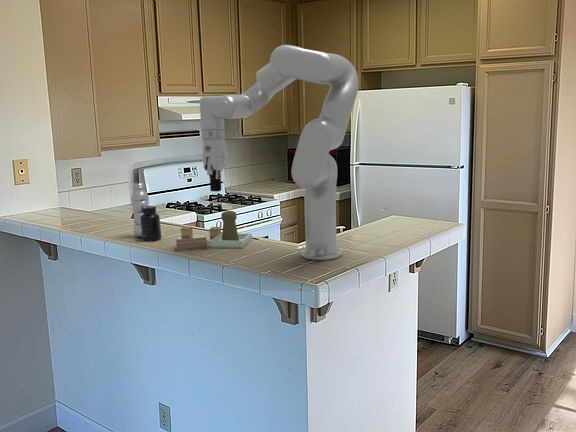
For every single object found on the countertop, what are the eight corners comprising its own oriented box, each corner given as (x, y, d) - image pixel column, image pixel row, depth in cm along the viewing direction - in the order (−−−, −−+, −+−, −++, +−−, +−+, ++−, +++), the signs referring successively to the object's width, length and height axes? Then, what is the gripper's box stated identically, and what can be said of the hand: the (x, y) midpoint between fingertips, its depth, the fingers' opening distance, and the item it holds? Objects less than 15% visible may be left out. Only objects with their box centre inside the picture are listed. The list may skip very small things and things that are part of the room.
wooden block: (207, 249, 189) (206, 241, 189) (176, 252, 188) (176, 243, 187) (206, 245, 195) (206, 237, 195) (176, 248, 193) (176, 239, 193)
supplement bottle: (151, 236, 211) (149, 204, 208) (165, 238, 207) (162, 205, 205) (138, 240, 205) (135, 208, 203) (151, 242, 201) (149, 209, 199)
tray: (242, 248, 188) (242, 241, 187) (210, 247, 190) (209, 240, 190) (251, 240, 199) (251, 233, 198) (221, 240, 201) (220, 233, 201)
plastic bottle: (139, 239, 207) (134, 184, 203) (131, 236, 212) (126, 183, 208) (155, 236, 211) (150, 182, 207) (147, 233, 216) (142, 181, 212)
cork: (234, 245, 190) (232, 213, 188) (218, 244, 192) (216, 212, 190) (242, 241, 195) (240, 209, 193) (226, 240, 197) (224, 209, 195)
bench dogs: (218, 242, 197) (217, 228, 196) (181, 242, 200) (180, 228, 199) (221, 240, 200) (220, 226, 199) (185, 240, 203) (184, 226, 202)
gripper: (215, 136, 177) (218, 194, 180) (231, 133, 191) (234, 187, 194) (193, 136, 178) (196, 194, 182) (210, 133, 193) (213, 187, 196)
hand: (216, 190), depth 188 cm, fingers closed
